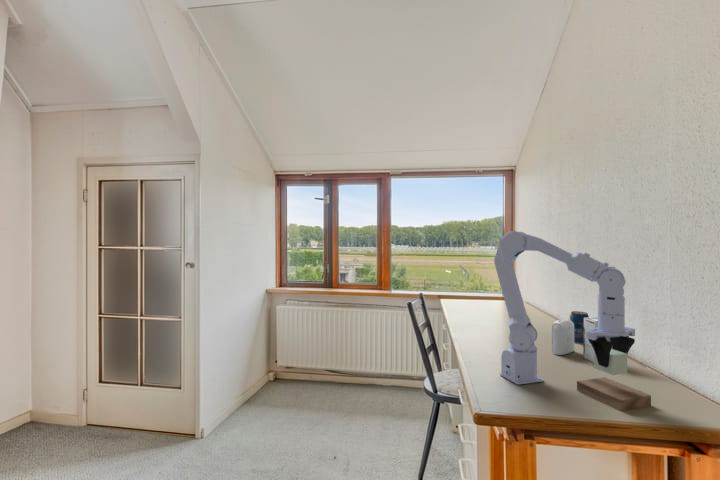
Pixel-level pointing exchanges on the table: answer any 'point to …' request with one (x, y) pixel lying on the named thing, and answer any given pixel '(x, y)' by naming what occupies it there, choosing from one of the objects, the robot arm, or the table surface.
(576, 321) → the soda can
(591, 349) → the syrup box
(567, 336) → the photo printer
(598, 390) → the walnut block
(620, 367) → the sage cube
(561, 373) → the table surface
